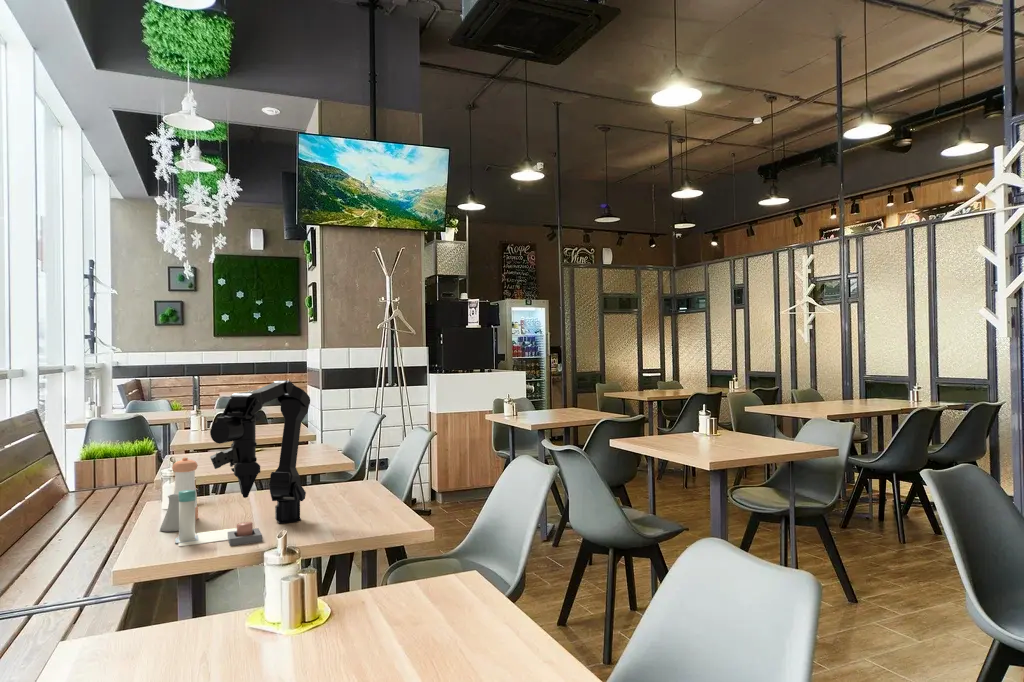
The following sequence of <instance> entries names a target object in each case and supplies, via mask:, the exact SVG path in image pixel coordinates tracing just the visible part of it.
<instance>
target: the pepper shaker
mask: <svg viewBox="0 0 1024 682" xmlns="http://www.w3.org/2000/svg"><path fill="white" fill-rule="evenodd" d="M171 468H172V471H173V472H174V478H175V479H174V490H173V494H179V491H183V490H196V491H197V488H196V476H195V475H196V470H197V469H198V463H197V462H196V461H195V460H193V459H189V458H188V457H183V458H181V460H177V461H176V462H174V463H173V464H172V467H171ZM197 503H198V494H197V492H196V500H195V521H197V520H198V519H199V506H198V505H197Z"/></svg>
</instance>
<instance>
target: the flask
mask: <svg viewBox="0 0 1024 682" xmlns="http://www.w3.org/2000/svg"><path fill="white" fill-rule="evenodd" d="M167 498H168V504H167V505H168V506H167V510H166V513H165V515H164V518H163V519H162V520H163V521H162V523H161V525H160V528H159V531H160V532H177V531H178V532H179V494H174V493H173V494H169V495H167Z"/></svg>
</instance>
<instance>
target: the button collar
mask: <svg viewBox="0 0 1024 682" xmlns="http://www.w3.org/2000/svg"><path fill="white" fill-rule="evenodd" d="M227 541H228V544H229V546H230V547H231V546H239V545H246V544H254V543H262V542H263V534H262V532H261V530H260V529H259V527H258V528H257V527H256V528H255V527H254V528H253V534H252V535H246V536H239V537H238V536H237V531H231V532H228V540H227Z"/></svg>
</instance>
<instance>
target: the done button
mask: <svg viewBox="0 0 1024 682" xmlns="http://www.w3.org/2000/svg"><path fill="white" fill-rule="evenodd" d="M236 528H237V536H238V537H239V536H246V535H252V534H253V529H254V528H253V522H252V521H244V522H243V521H242V522H240V523H236Z"/></svg>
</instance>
